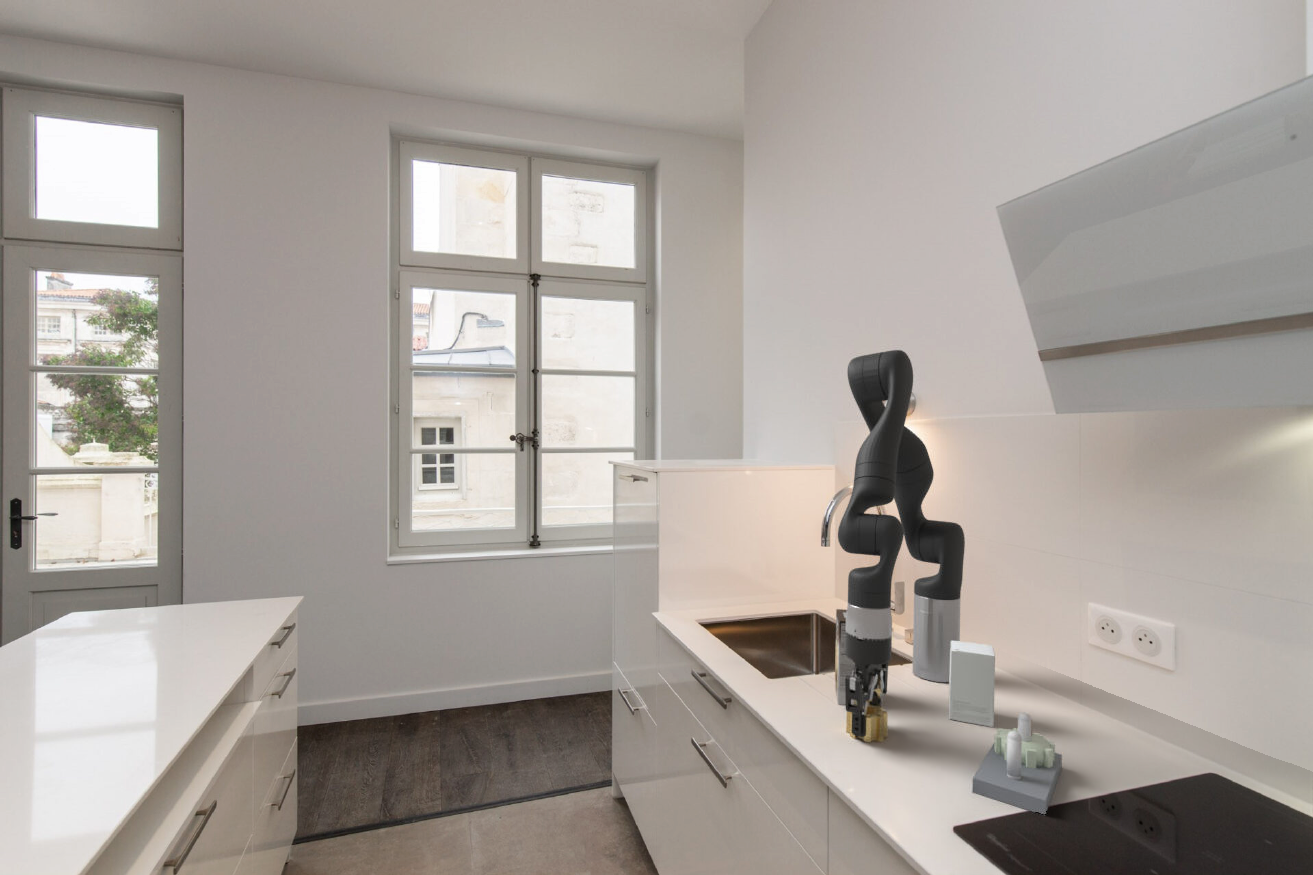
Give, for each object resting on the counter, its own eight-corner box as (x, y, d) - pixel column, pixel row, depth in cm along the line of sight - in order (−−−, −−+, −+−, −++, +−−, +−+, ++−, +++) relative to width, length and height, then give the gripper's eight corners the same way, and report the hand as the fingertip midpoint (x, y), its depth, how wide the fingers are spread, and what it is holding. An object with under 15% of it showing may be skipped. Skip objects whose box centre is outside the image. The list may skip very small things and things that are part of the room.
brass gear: (855, 721, 115) (855, 699, 115) (892, 732, 111) (892, 709, 111) (840, 734, 110) (841, 710, 110) (878, 746, 106) (879, 721, 106)
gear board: (997, 749, 106) (998, 697, 106) (1061, 767, 100) (1062, 712, 100) (972, 791, 92) (973, 732, 93) (1045, 815, 87) (1046, 752, 87)
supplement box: (994, 728, 114) (995, 656, 114) (948, 719, 117) (949, 649, 117) (992, 712, 121) (993, 644, 121) (948, 705, 124) (950, 638, 124)
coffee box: (833, 686, 132) (835, 607, 132) (866, 690, 130) (868, 610, 131) (837, 704, 123) (838, 619, 123) (872, 708, 121) (874, 622, 122)
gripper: (862, 618, 119) (860, 709, 119) (830, 635, 107) (828, 736, 107) (904, 626, 114) (902, 721, 114) (875, 644, 103) (873, 750, 103)
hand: (866, 727), depth 111 cm, fingers closed on brass gear, 6 cm apart
